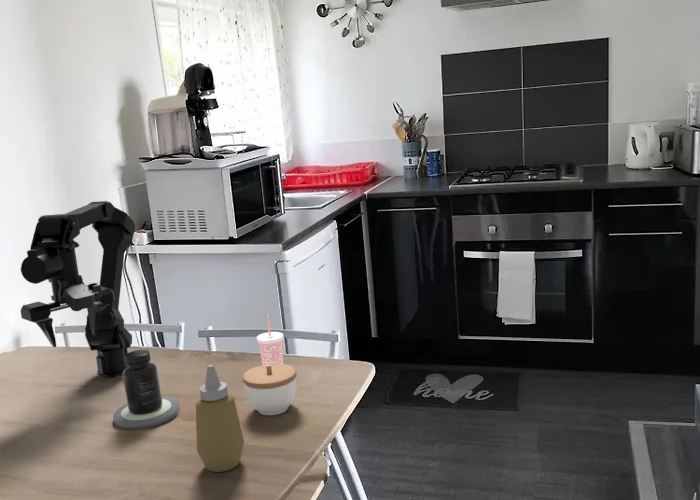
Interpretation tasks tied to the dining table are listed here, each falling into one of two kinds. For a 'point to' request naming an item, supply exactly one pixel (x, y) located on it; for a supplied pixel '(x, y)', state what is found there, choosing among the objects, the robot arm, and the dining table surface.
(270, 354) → the beverage cup
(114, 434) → the dining table surface
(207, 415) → the squeeze bottle
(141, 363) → the supplement bottle
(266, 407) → the lidded jar
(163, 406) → the plate
